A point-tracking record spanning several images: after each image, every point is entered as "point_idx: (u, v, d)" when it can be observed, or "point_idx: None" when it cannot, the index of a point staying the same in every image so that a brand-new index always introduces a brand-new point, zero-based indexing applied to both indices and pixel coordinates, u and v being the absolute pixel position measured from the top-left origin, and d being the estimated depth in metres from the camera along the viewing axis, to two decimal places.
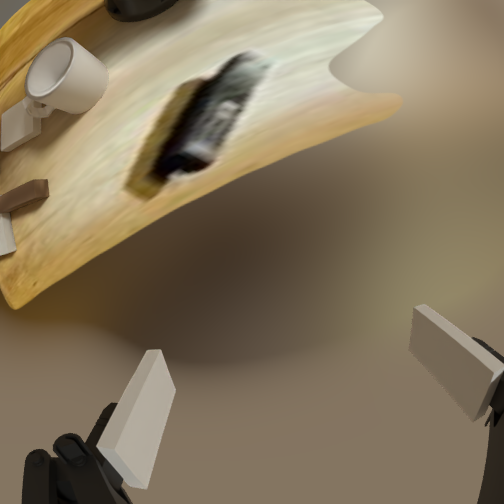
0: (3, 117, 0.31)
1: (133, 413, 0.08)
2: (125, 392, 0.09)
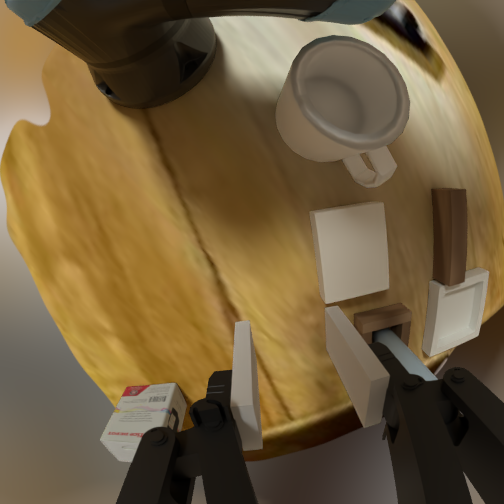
0: (334, 296, 0.29)
1: (252, 373, 0.10)
2: (233, 358, 0.11)
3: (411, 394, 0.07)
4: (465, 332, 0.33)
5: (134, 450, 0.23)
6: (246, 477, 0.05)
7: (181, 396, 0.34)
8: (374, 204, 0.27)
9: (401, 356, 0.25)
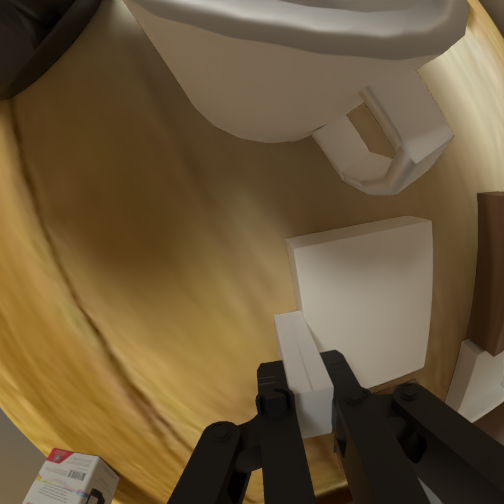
0: None
1: None
2: (281, 349, 0.11)
3: (356, 408, 0.07)
4: (496, 395, 0.18)
5: None
6: (306, 468, 0.05)
7: (109, 471, 0.20)
8: (415, 225, 0.13)
9: None
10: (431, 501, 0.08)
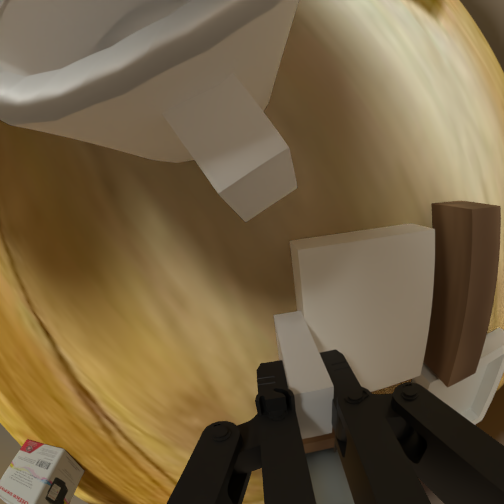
0: None
1: None
2: (280, 349, 0.11)
3: (356, 408, 0.07)
4: None
5: None
6: (306, 468, 0.05)
7: (73, 463, 0.20)
8: (419, 232, 0.13)
9: None
10: None
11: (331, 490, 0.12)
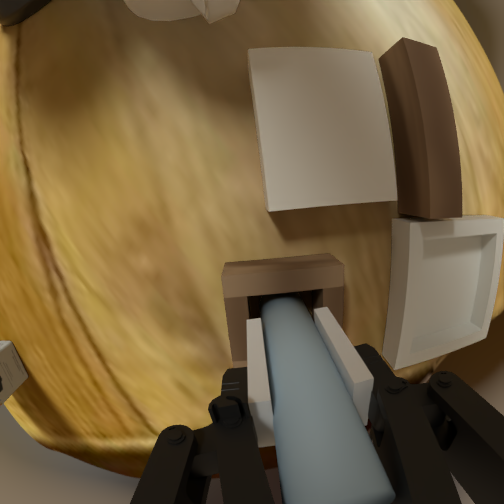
0: (286, 197, 0.15)
1: None
2: (247, 355, 0.11)
3: (395, 398, 0.07)
4: (464, 330, 0.18)
5: None
6: (264, 474, 0.05)
7: (17, 361, 0.20)
8: (356, 51, 0.13)
9: (283, 357, 0.11)
10: (327, 388, 0.08)
11: (293, 332, 0.12)
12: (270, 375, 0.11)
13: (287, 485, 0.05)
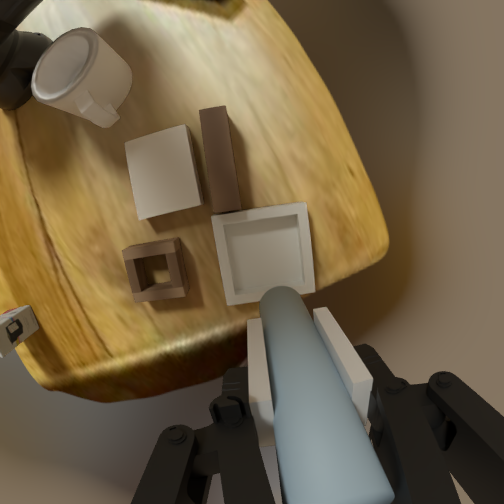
0: (145, 212, 0.32)
1: (267, 369, 0.10)
2: (248, 355, 0.11)
3: (395, 398, 0.07)
4: (290, 284, 0.35)
5: None
6: (264, 474, 0.05)
7: (33, 317, 0.37)
8: (176, 127, 0.30)
9: (283, 358, 0.11)
10: (327, 389, 0.08)
11: (293, 333, 0.12)
12: (270, 376, 0.11)
13: (287, 486, 0.05)
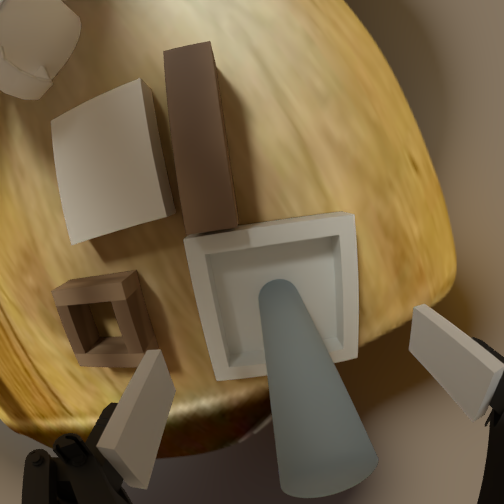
0: (79, 233, 0.17)
1: (133, 413, 0.08)
2: (125, 393, 0.09)
3: None
4: None
5: None
6: None
7: None
8: (125, 85, 0.15)
9: (279, 340, 0.12)
10: (317, 364, 0.10)
11: (288, 319, 0.14)
12: (268, 356, 0.12)
13: (282, 446, 0.07)
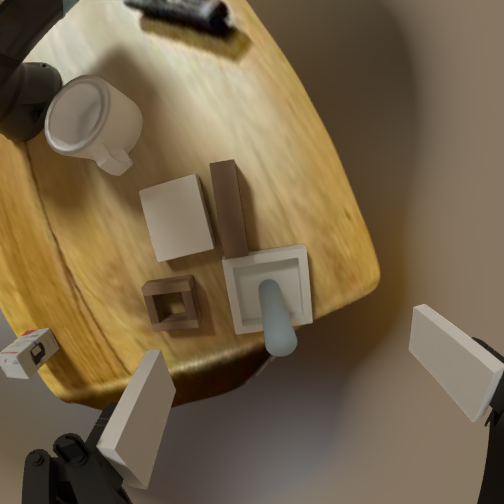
0: (163, 256, 0.36)
1: (133, 413, 0.08)
2: (124, 393, 0.09)
3: None
4: (291, 316, 0.39)
5: (9, 364, 0.30)
6: None
7: (53, 339, 0.41)
8: (186, 176, 0.34)
9: (266, 303, 0.31)
10: (279, 310, 0.29)
11: (271, 296, 0.33)
12: (262, 310, 0.31)
13: (265, 332, 0.26)
